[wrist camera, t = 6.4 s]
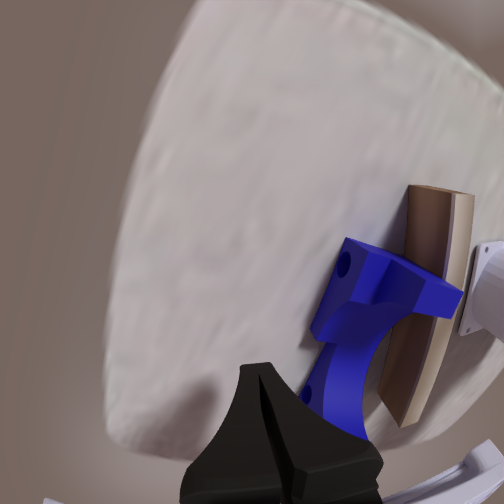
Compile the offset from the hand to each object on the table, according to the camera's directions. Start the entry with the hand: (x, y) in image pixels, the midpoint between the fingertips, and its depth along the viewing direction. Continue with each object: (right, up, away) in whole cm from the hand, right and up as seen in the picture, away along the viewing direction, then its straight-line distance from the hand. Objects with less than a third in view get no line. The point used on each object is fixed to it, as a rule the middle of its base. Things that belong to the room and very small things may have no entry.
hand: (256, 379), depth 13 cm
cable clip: (+5, +1, +6) cm, 8 cm away
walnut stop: (+10, +2, +6) cm, 12 cm away
